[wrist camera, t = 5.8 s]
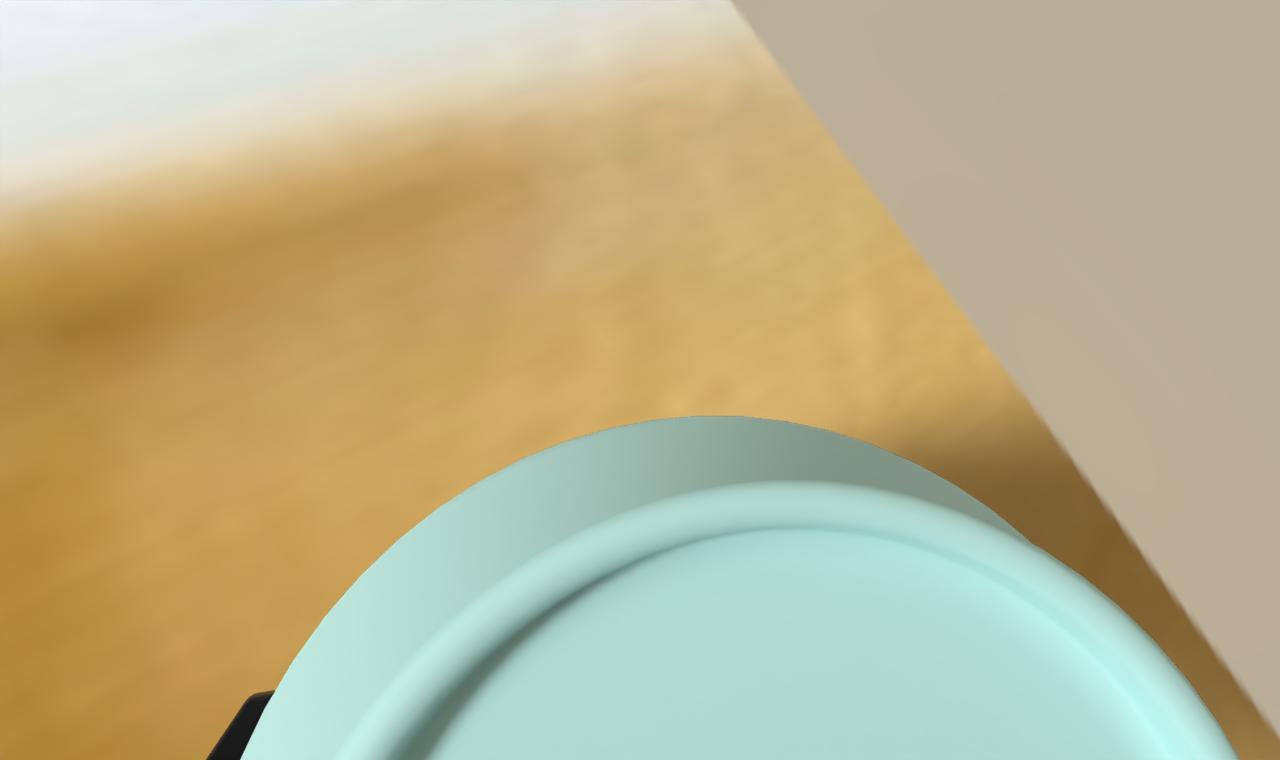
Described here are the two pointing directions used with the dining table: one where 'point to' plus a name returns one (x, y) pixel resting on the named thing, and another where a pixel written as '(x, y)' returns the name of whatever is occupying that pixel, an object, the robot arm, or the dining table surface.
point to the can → (727, 620)
